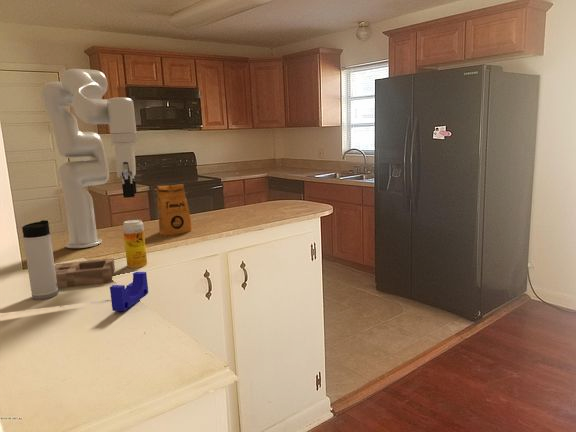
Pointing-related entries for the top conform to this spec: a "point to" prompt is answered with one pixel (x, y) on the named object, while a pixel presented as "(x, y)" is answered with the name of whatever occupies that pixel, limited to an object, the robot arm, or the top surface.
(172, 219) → the coffee package
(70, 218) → the robot arm
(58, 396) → the top surface
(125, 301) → the cable clip
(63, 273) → the brown wooden slotted block
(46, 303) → the top surface
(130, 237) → the beer can
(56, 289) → the travel mug
